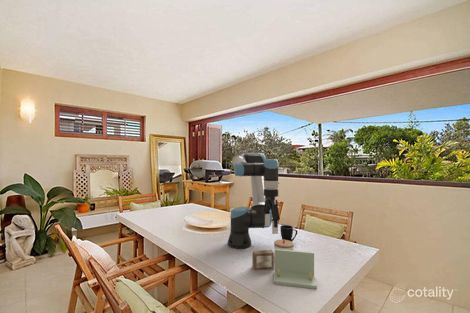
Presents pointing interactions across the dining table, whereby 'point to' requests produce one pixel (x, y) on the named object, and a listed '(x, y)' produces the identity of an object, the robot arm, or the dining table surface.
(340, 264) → the dining table surface
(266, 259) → the brown tapered block
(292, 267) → the ledge
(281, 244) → the lidded jar
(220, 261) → the dining table surface
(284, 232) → the mug
